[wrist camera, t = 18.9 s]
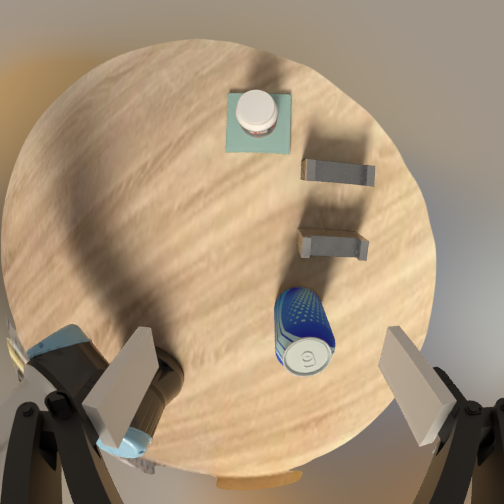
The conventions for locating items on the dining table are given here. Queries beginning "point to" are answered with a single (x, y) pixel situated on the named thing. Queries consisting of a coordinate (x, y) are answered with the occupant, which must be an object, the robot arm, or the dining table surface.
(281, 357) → the beer can
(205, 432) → the dining table surface
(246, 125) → the pill bottle
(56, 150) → the dining table surface
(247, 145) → the coaster
